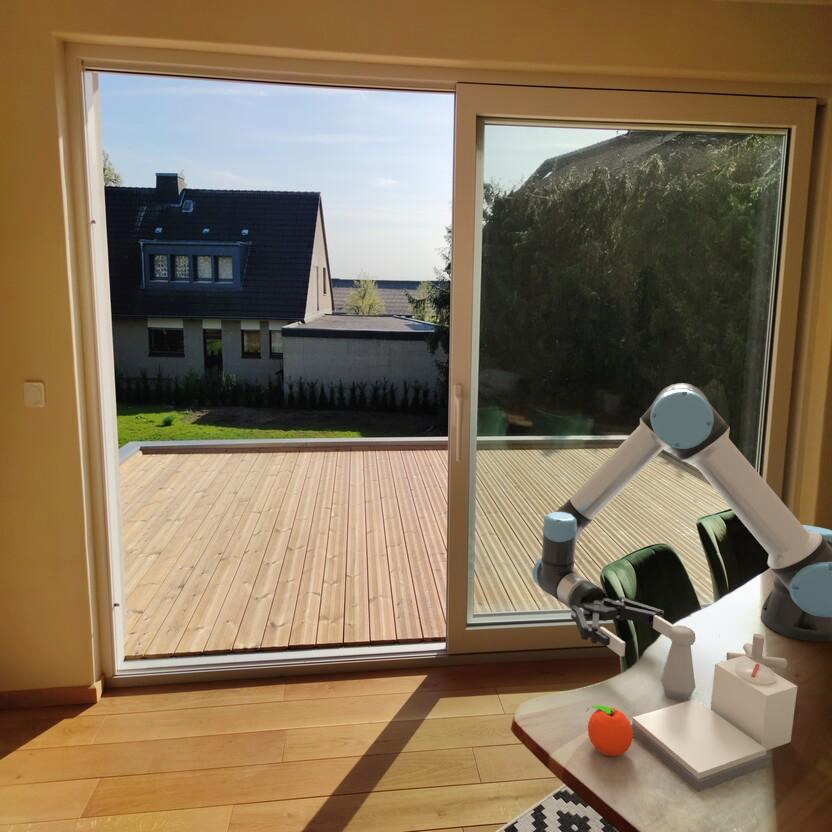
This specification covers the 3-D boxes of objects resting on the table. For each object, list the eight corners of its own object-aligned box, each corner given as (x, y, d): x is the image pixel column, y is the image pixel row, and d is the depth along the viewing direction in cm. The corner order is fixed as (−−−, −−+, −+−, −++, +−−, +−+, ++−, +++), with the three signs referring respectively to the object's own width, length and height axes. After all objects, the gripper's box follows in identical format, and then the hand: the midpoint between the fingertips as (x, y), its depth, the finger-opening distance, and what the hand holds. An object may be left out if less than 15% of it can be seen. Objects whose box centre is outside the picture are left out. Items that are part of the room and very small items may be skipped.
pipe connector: (791, 704, 115) (798, 653, 114) (732, 696, 117) (737, 646, 116) (773, 674, 125) (778, 626, 123) (718, 667, 127) (723, 620, 125)
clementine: (572, 745, 104) (574, 705, 102) (596, 727, 108) (598, 689, 107) (616, 772, 98) (619, 730, 96) (639, 752, 102) (643, 711, 101)
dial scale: (727, 699, 117) (733, 643, 115) (804, 751, 103) (812, 689, 101) (627, 729, 108) (631, 670, 106) (697, 791, 94) (704, 724, 92)
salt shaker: (689, 708, 114) (695, 640, 112) (656, 696, 117) (661, 630, 115) (697, 693, 118) (703, 627, 116) (665, 682, 122) (671, 618, 120)
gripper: (626, 603, 147) (699, 648, 128) (533, 622, 138) (597, 674, 118) (628, 572, 146) (702, 613, 127) (535, 589, 136) (599, 636, 117)
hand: (651, 643), depth 122 cm, fingers open, 13 cm apart
